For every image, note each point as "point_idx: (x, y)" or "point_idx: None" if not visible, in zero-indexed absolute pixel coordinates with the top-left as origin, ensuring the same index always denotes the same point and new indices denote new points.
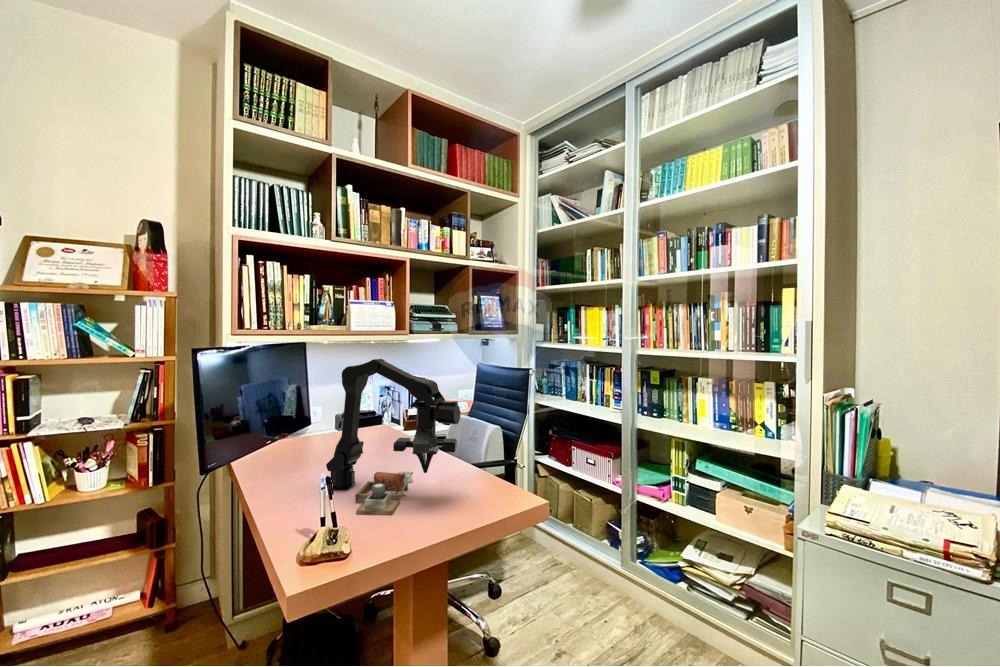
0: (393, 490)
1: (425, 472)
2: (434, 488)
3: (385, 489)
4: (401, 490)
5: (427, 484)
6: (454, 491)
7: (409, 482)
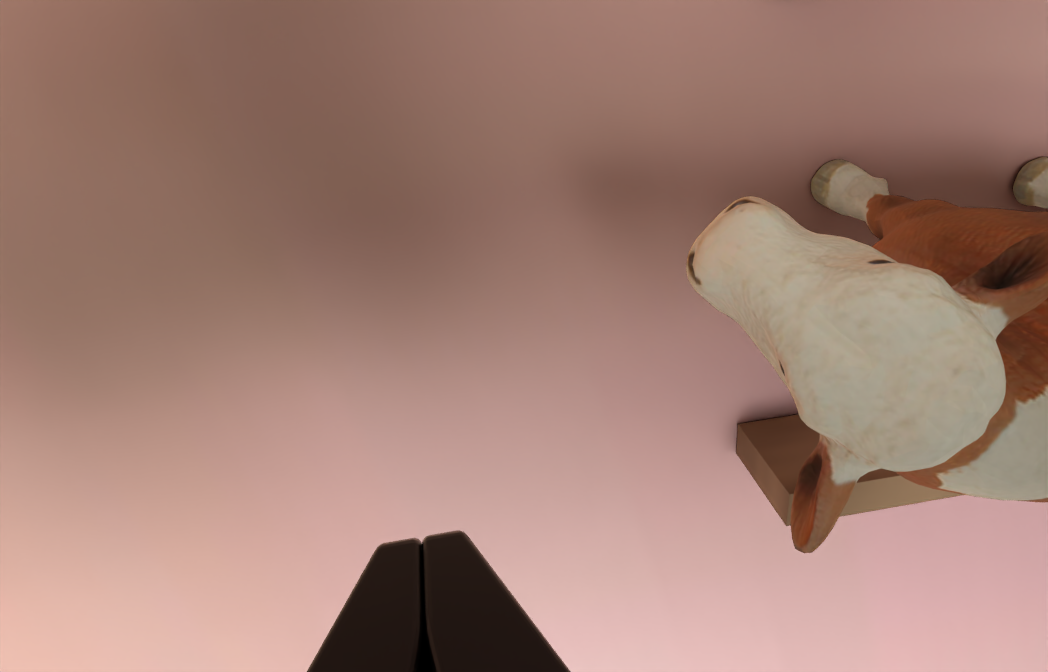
0: None
1: (412, 545)
2: None
3: None
4: None
5: None
6: (45, 560)
7: (764, 203)
